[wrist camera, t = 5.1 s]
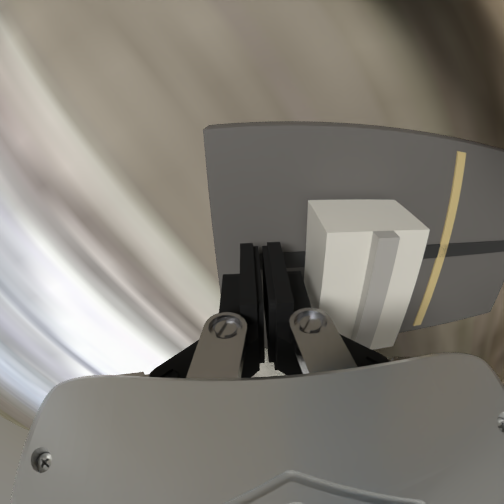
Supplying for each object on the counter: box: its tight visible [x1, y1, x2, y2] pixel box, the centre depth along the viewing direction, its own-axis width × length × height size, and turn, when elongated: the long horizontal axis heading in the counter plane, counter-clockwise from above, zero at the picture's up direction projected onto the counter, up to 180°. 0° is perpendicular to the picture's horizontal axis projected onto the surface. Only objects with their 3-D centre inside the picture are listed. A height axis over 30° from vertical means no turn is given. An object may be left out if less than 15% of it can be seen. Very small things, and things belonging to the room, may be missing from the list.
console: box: [203, 122, 504, 348], centre depth 14 cm, size 20×12×2 cm, turn 92°
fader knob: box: [304, 199, 430, 350], centre depth 12 cm, size 4×6×4 cm, turn 2°
